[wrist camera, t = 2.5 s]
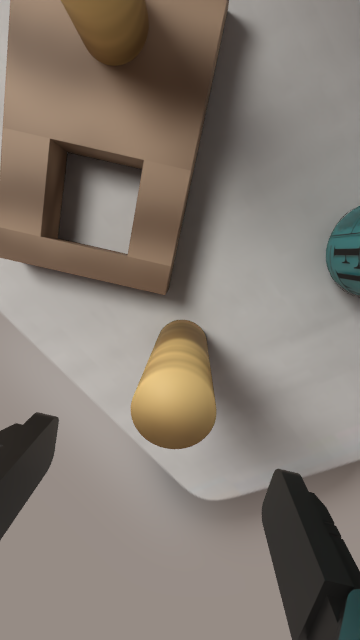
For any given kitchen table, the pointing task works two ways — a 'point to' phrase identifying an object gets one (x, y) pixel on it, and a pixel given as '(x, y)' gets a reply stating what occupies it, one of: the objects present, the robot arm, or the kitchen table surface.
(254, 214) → the kitchen table surface
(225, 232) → the kitchen table surface
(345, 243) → the beverage bottle
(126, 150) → the pin plate
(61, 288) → the kitchen table surface
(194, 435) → the pin
